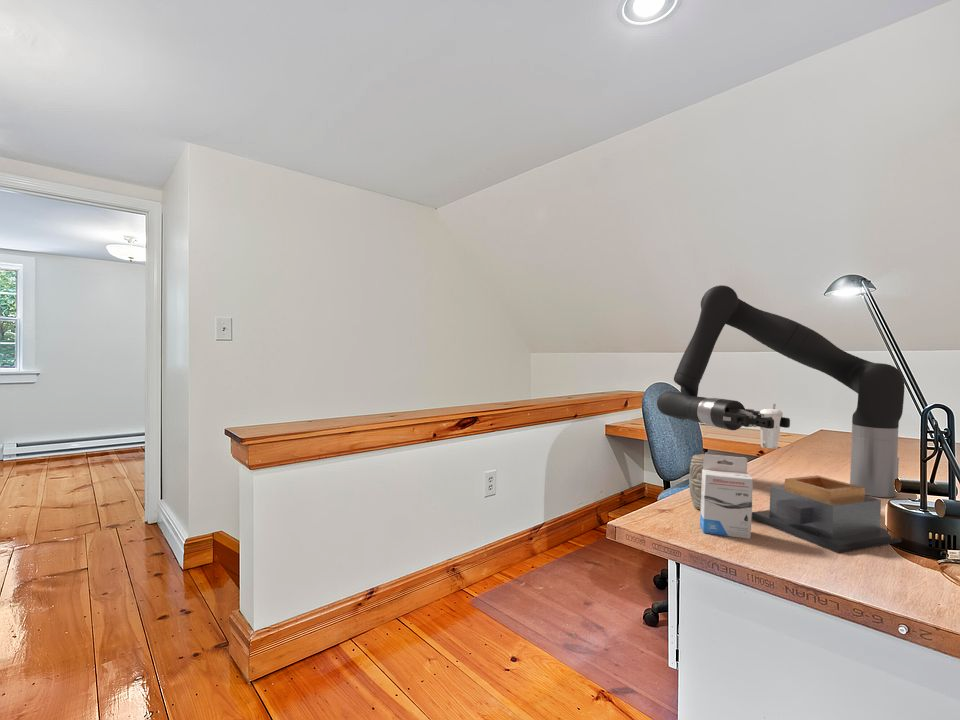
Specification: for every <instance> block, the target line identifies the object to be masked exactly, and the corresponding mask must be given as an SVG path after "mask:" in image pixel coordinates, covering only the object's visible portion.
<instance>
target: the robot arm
mask: <svg viewBox="0 0 960 720" xmlns="http://www.w3.org/2000/svg"><path fill="white" fill-rule="evenodd" d="M700 309H701V311H700V315H699V317H698V321H697V324H696V327H695V330H694V333H693V335H692V337H691V339H690V341H689V342H688V345H687V347H686V348H685V351H684V353H683V355H682V357H681V359H680V361H679V363H678V366H677V369H676V371H675V374H674V376H673V382H674V383H675V384H677V385H679V386H680V392H676V391H665V392H663V393H661V394H660V395H659V396H658V398H657V400H656V407H657V409H658V411H659V412H660V413H661V414H662V415H665V416H668V417H671V418H675V419H678V420H682V421H685V420H690V421H692V422H695V423H700V424H704V425H706V426H710V427H715V428H719V429H723V430H728V431H729V430H730V431H736V430H739V429H740V428H742V427H744V428H749V427H750V428H752V427H753V428H757V427H758V428H760V427H763V428H769V429H773V428H774V420H773V419H770V418H764V417H760V411H761V410H754V409H752V408H745V405H743V404H742V403H741V402H740V401H738V400H735V399H734V400H732V399H725V398H719V397H718V398H717V397H704V396H698V394H699V388H700V387H699V386H700V383H701V381H702V379H703V377H704V374H705V371H706V369H707V367H708V365H709V364H708V363H709V361H710V359H711V356H712V353H713V350H714V348H715V345H716V343H717V341H718V339H719V338H720V337H719V336H720V334H721V332H722V331H723V329H724V327H725V326H726V325H727V326H730V327H731V328H735V329H737V330H739V331H741V332H742V333H745V334H746V335H748V336H749V337H751V338H753V339H754V340H756V341H757V342H759V343H760V344H762V345H764V346H766V347H768V348H769V349H771V350H773V351H775V352H777V353H778V354H781V355H782V356H784V357H786V358H787V359H790V360H792V361H795V362H797V363H799V364H801V365H804V366H806V367H808V368H811V369H814V370H817V371H819V372H821V373H823V374H826V375H827V376H829V377H831V378H833V379H835V380H836V381H838V382H839V383H841V384H842V385H844V386H846V387H848V389H850V390H852V391H853V392H855V393H856V394H857V405H856V409H855V411H854V412H853V413H852V419H851V422H852V423H851V445H850V446H851V448H850V449H851V450H850V472H849V473H850V474H849V475H850V476H849V477H850V479H849V484H852V485H856V486H860V487H864V488H865V496H869V497H875V498H876V497H877V498H894V497H896V496H897V495H898V491H897V492H896V491H895V487H894V481H895V479H897V478H898V479H899V463H900V461H899V459H900V458H899V457H898V449H899V448H898V445H899V424H900V420H901V418H902V415H903V413H904V412H903V411H904V399H905V379H904V375H903V374H902V372H901V371H900V370H899V369H898V368H897V367H896V366H893V365H892V364H887V363H880V362H873V361H869V360H867V359H863V358H861V357H858V356H855V355H853V354H851V353H848V351H847V352H846V351H844V350H843V349H842V348H839V347H838V346H837V345H836V344H834V343H833V342H831V341H830V340H828V338H826V337H825V336H823V335H822V334H820V333H819V332H817V331H815V330H813V329H812V328H809V327H808V326H805V325H803V324H801V323H799V322H797V321H795V320H792V319H790V318H787V317H784V316H782V315H779V314H776V313H772V312H768V311H765V310H762V309H759V308H756V307H754V306H753V305H751V304H749V303H747V302H745V301H744V300H742V299H740V298H739V296H738V294H737V292H736V291H735V290H734V289H733V288H732V287H730V286H728V285H724V284H723V285H720V284H719V285H716V286H712V287H711V288H709V289H708V290H707V291H706V292H704V294H703V296H702V297H701V300H700ZM790 426H791V419H790V418H789V417H785V416H782V421H781V426H780V428H784V429H785V428H786V429H788V428H790Z"/></svg>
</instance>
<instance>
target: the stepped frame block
mask: <svg viewBox="0 0 960 720" xmlns="http://www.w3.org/2000/svg"><path fill="white" fill-rule="evenodd" d="M769 487H770V488H769V490H770V491H769V509H766V510H760V511H752V514H751V520H752V521H756V522H758V523H760V524H763V525H766V526H769V527H771V528H774V529H776V530H777V531H780V532H783V533H786V534H788V535H791V536H794V537H796V538H799V539H801V540H803V541H806V542H809V543H811V544H813V545H816V546H819V547H822V548H824V549H827V550H828V551H832V552H834V553H837V554H842V553H849V552H853V551H858V550H859V551H860V550H865V549H871V548H877V547H881V546H882V547H883V546H887V545H891V544H892V545H893V544H898V543H902V539H901V540H900V539H898V538H893V539H891V536H890V535H889V534H888V531H887V530H888V529H886V528H883V527H881V512H882V511H881V509H882V499H880V498H876V497H873V496H870V495H865V488H864V487H860V486H856V485H852V484H850V482H848V483H847V482H844V481H841V480H836V479H832V478H828V477H825V476H820V475H808V476H799V477H789V478H784V484H783V485H772V486H769Z"/></svg>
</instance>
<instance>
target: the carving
mask: <svg viewBox="0 0 960 720" xmlns="http://www.w3.org/2000/svg"><path fill="white" fill-rule="evenodd" d="M705 454H706V453H702V454H701V453H700V454H694V455H692V457H691V459H690V466H689V480H688V481H689V482H688V483H689V484H688V485H689V494H690V498H691V502H692V506H693V508H695V509H696V510H699V511H701V485H702V469H703V456H704V455H705ZM717 463H718V464H723V461H718V462H717Z"/></svg>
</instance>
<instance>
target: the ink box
mask: <svg viewBox="0 0 960 720" xmlns="http://www.w3.org/2000/svg"><path fill="white" fill-rule="evenodd" d="M704 454H705V455H704V456H703V469H702V485H701V510H700V515H699V517H700V519H699V526H700V528H701V530H702V533H704V534H709V535H717V536H725V537H732V538H738V539H739V538H741V539H748V540H750V539H751V537H752V536H751V535H752V512H753V509H752V508H753V490H754V489H753V488H754V486H753V484H754V481H753V480H754V479H753V477H752V476H751V475H750V474H749V473H748V461H749V460H748V458H747V457H742V456H732V455H731V456H730V455H722V454H720V455H719V454H708V453H704ZM718 461H722V462H723V461H726V462H727V463H729V462H730V463H732V464H724V463H722V464H718V463H717V462H718Z"/></svg>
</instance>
